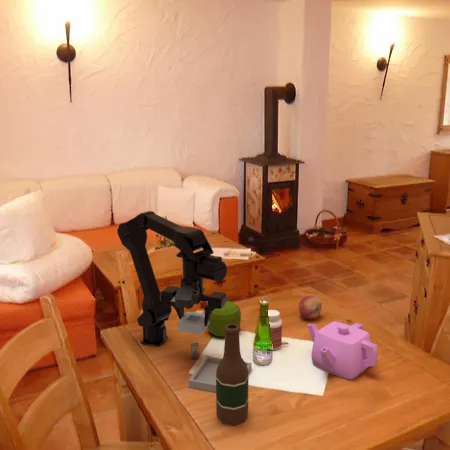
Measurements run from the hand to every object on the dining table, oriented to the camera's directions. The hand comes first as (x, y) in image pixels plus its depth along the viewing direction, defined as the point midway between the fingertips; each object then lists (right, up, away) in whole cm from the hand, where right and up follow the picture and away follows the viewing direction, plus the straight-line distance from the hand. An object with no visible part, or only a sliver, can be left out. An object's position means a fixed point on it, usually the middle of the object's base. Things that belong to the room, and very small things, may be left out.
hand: (194, 324), depth 149 cm
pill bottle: (+23, -9, +10) cm, 27 cm away
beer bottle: (+11, -18, -24) cm, 32 cm away
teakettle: (+42, -12, -1) cm, 43 cm away
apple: (+8, -6, +19) cm, 21 cm away
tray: (+8, -13, -8) cm, 17 cm away
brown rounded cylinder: (0, -11, +3) cm, 11 cm away
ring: (0, -1, 0) cm, 1 cm away
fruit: (+38, -4, +28) cm, 48 cm away
